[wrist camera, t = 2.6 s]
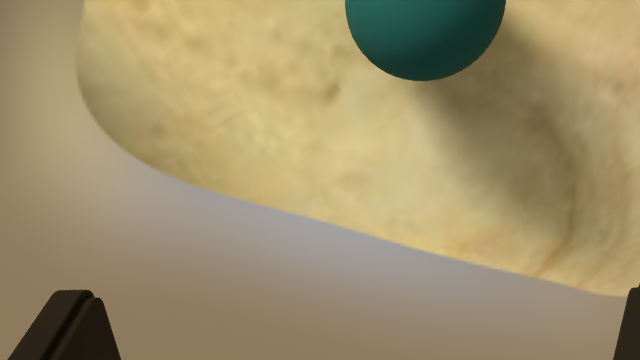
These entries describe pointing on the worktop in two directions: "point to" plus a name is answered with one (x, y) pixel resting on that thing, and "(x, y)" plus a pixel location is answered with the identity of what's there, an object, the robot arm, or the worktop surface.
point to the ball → (423, 34)
